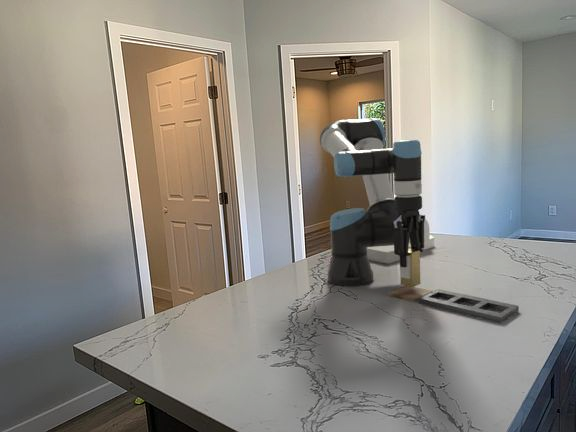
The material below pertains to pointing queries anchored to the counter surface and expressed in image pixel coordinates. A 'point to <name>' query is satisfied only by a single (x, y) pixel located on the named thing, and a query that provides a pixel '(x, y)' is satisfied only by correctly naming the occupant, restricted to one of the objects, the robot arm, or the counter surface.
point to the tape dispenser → (427, 237)
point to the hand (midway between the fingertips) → (410, 275)
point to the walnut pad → (409, 293)
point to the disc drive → (383, 254)
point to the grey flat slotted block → (474, 311)
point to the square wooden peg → (412, 269)
